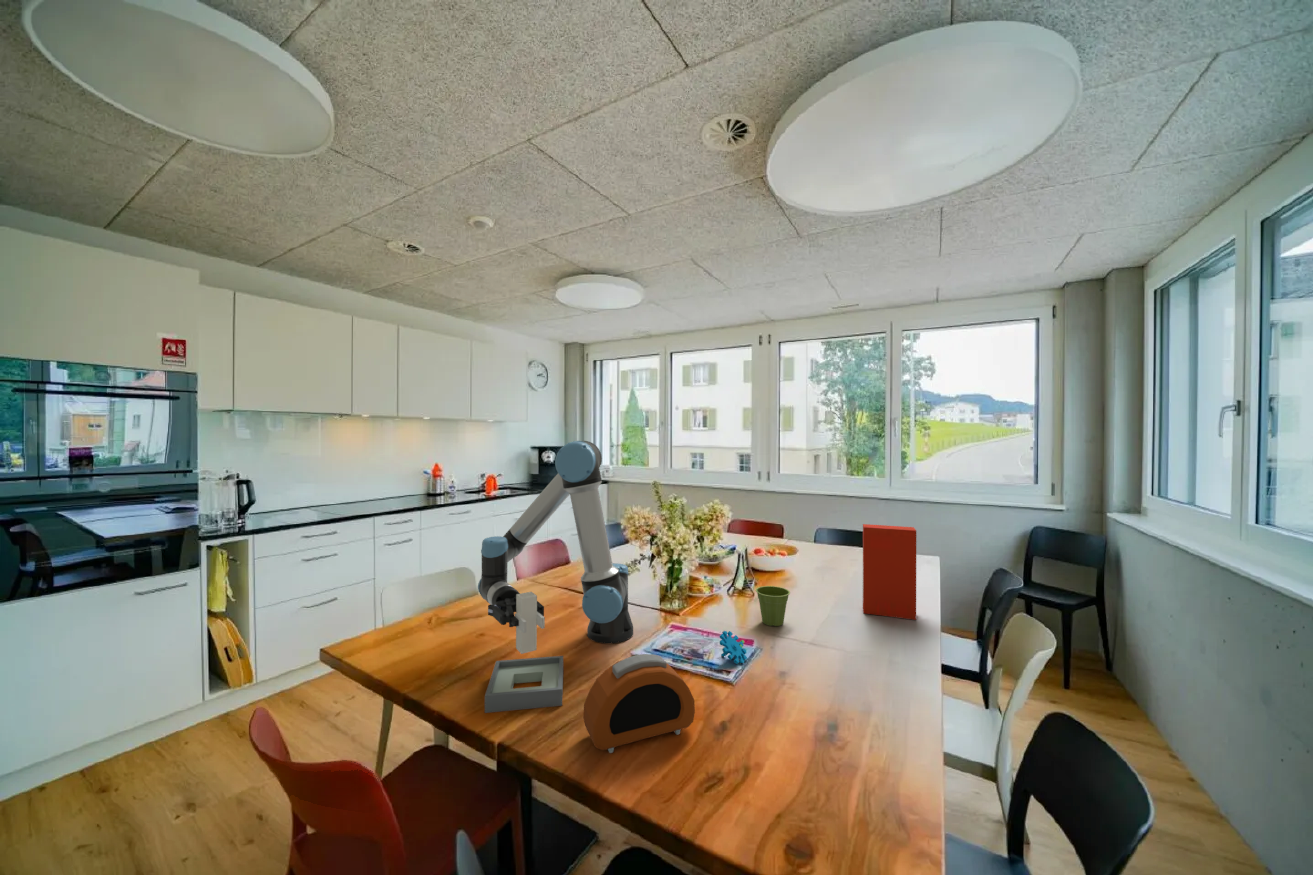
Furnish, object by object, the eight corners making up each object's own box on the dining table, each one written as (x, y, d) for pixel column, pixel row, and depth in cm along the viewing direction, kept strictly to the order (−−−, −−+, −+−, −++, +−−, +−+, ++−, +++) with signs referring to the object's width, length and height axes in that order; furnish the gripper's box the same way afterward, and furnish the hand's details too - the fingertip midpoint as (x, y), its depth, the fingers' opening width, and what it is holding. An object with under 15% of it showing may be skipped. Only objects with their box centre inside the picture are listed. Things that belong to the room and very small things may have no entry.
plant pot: (794, 620, 171) (794, 589, 171) (783, 632, 161) (784, 598, 161) (762, 613, 177) (762, 583, 177) (750, 624, 167) (750, 592, 167)
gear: (735, 665, 134) (716, 632, 139) (721, 675, 136) (703, 643, 142) (755, 657, 142) (737, 626, 148) (742, 667, 145) (724, 636, 150)
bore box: (563, 669, 135) (563, 655, 135) (562, 705, 117) (562, 689, 117) (496, 675, 131) (496, 660, 131) (484, 712, 114) (484, 695, 114)
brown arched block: (593, 760, 97) (594, 677, 97) (582, 734, 105) (582, 658, 105) (696, 731, 107) (696, 656, 107) (678, 710, 115) (678, 640, 115)
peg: (530, 644, 127) (531, 591, 127) (536, 649, 124) (536, 595, 124) (516, 648, 125) (516, 594, 124) (521, 653, 121) (521, 598, 121)
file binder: (862, 606, 185) (862, 523, 185) (913, 612, 179) (913, 526, 179) (863, 613, 177) (863, 527, 177) (916, 620, 171) (916, 530, 171)
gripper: (532, 605, 144) (565, 632, 125) (473, 617, 134) (499, 648, 115) (533, 580, 144) (566, 603, 124) (473, 590, 134) (499, 617, 115)
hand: (534, 624), depth 120 cm, fingers closed on peg, 4 cm apart
